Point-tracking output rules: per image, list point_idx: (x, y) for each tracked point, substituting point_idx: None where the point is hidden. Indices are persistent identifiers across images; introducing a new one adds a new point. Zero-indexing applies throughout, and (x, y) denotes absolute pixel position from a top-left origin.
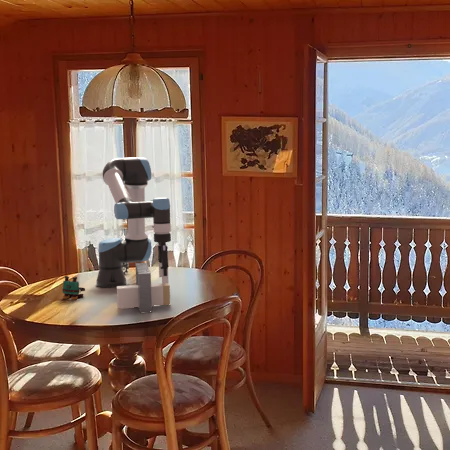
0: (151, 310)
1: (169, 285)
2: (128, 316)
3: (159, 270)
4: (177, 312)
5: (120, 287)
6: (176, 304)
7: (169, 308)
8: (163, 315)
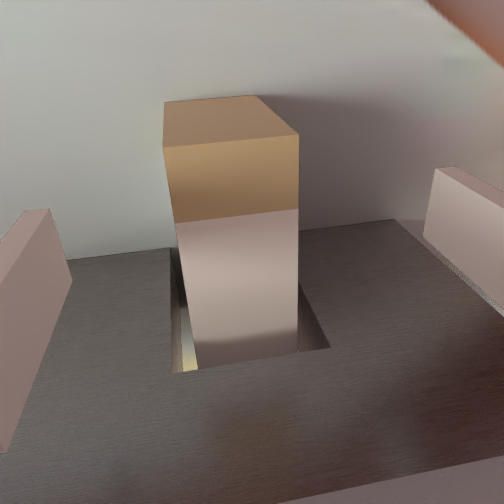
0: (399, 226)
1: (293, 136)
2: None
3: (47, 337)
4: (465, 46)
5: None
6: (236, 36)
7: (341, 103)
8: (488, 149)
